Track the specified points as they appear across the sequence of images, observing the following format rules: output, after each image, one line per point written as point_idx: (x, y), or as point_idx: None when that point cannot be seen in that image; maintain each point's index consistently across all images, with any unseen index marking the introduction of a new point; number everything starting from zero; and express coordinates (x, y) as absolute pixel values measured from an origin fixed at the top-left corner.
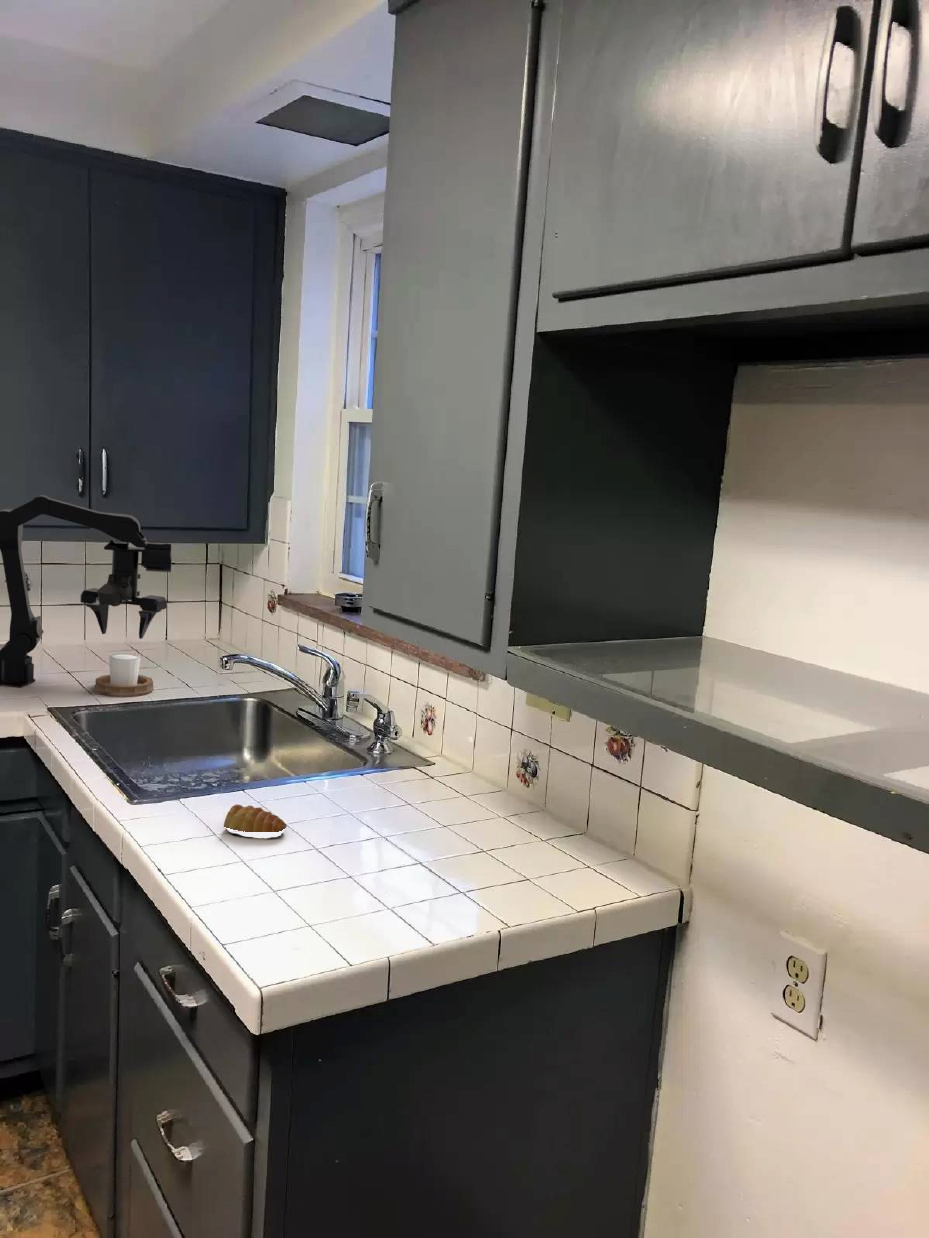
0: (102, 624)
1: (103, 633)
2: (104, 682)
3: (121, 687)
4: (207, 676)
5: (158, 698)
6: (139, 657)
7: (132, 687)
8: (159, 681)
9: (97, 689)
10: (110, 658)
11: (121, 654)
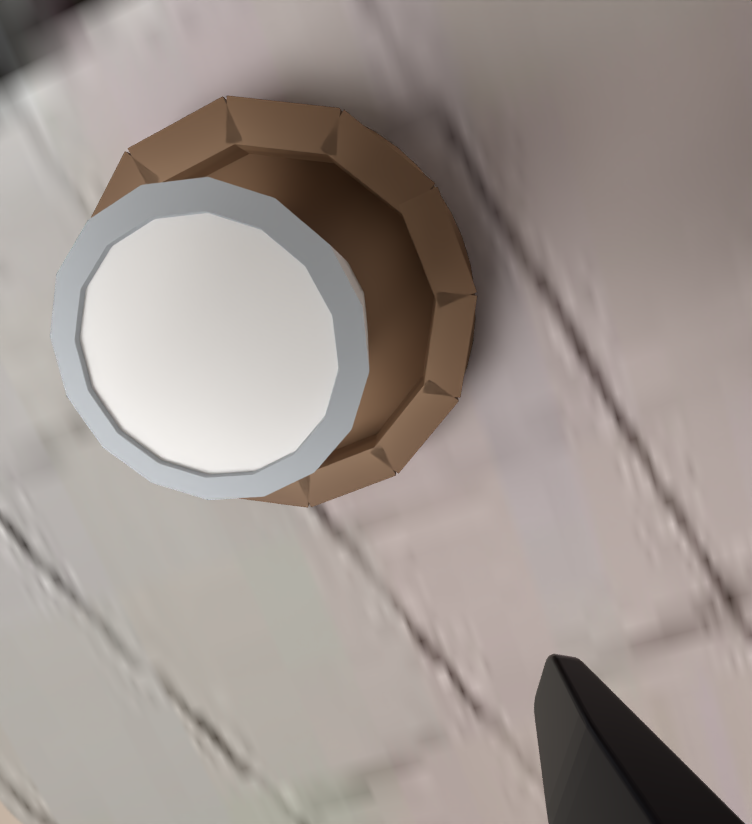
0: (633, 791)
1: (553, 658)
2: (426, 346)
3: (209, 104)
4: (14, 717)
5: (6, 170)
6: (72, 390)
7: (141, 144)
8: (181, 560)
9: (417, 167)
10: (322, 240)
11: (287, 457)
